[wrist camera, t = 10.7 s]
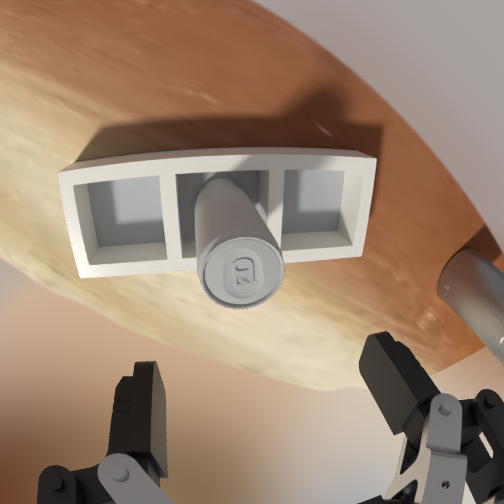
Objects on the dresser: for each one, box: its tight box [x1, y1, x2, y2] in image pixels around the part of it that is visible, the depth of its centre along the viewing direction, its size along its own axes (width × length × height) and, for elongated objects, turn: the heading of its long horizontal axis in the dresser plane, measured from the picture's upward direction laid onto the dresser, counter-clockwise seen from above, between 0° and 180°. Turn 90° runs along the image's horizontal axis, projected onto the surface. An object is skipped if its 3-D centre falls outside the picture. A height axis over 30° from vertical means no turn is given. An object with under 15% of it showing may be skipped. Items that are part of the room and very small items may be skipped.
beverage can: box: [194, 178, 285, 309], centre depth 21 cm, size 5×5×12 cm
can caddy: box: [58, 147, 377, 278], centre depth 25 cm, size 26×9×4 cm, turn 90°
